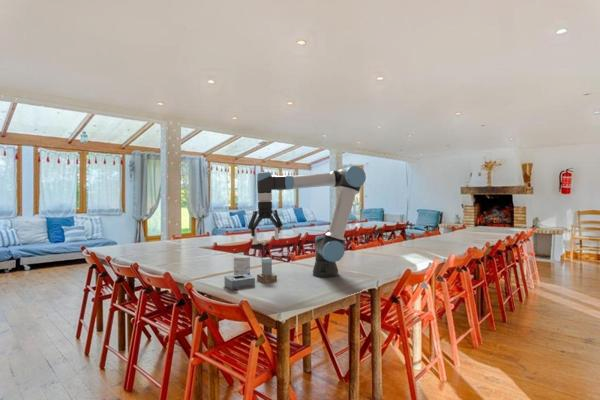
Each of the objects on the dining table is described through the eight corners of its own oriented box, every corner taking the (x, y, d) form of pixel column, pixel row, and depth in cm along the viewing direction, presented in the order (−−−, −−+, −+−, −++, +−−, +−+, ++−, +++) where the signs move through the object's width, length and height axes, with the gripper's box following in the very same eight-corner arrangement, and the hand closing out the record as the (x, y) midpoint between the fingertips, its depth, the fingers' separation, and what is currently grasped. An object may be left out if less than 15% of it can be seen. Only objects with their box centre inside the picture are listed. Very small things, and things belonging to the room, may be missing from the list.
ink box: (250, 276, 202) (250, 256, 202) (247, 278, 197) (246, 257, 197) (237, 275, 204) (237, 255, 204) (233, 277, 199) (233, 257, 199)
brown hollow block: (270, 279, 193) (270, 272, 193) (276, 282, 186) (276, 275, 186) (257, 281, 189) (257, 274, 189) (263, 284, 182) (263, 277, 182)
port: (246, 282, 187) (246, 273, 187) (254, 287, 177) (254, 277, 177) (224, 285, 181) (224, 275, 181) (232, 291, 171) (232, 280, 171)
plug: (268, 279, 191) (268, 257, 190) (272, 280, 187) (271, 258, 187) (261, 280, 188) (261, 258, 188) (265, 281, 185) (264, 259, 185)
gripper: (280, 200, 195) (281, 238, 195) (240, 202, 180) (241, 242, 181) (288, 200, 189) (289, 239, 189) (247, 202, 174) (248, 244, 175)
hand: (266, 241), depth 185 cm, fingers open, 13 cm apart
